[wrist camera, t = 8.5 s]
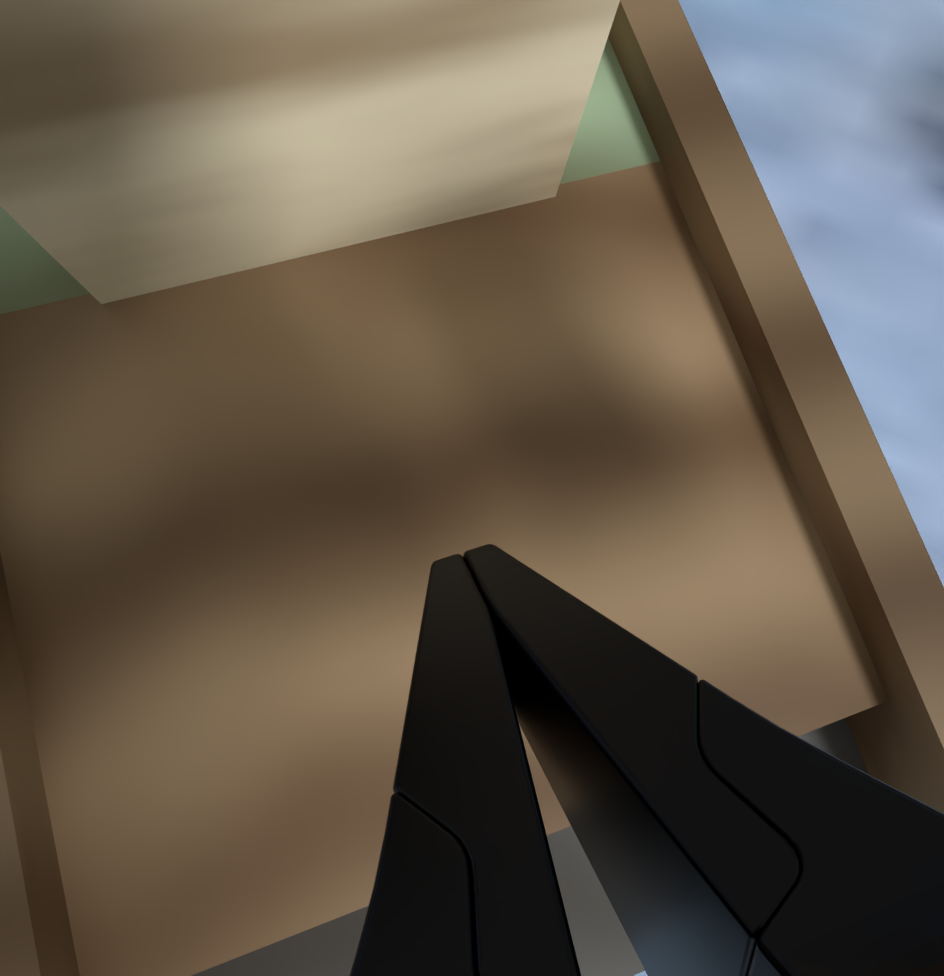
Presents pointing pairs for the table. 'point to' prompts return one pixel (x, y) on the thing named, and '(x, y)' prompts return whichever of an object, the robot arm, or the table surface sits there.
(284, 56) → the birch block
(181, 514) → the trap lane
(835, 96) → the table surface
